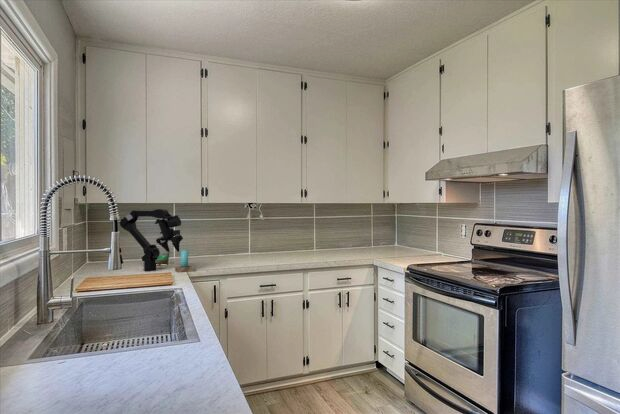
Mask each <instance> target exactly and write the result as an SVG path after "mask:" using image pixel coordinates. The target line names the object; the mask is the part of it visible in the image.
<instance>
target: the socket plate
mask: <svg viewBox="0 0 620 414" xmlns="http://www.w3.org/2000/svg"><path fill="white" fill-rule="evenodd" d="M174 271H175V272H178V273H191V272H194V271H195V267H194V266H192V265H188V267H186V268H181V265H178V266H176V265H175V266H174Z"/></svg>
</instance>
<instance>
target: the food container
mask: <svg viewBox="0 0 620 414" xmlns="http://www.w3.org/2000/svg"><path fill="white" fill-rule="evenodd" d="M159 251H160V254H159V256H158V258H157V260H156V264H167V263H168V264H169V259H170V254H171V250H170V249H169V252H167V251H166V250H159ZM168 264H167V265H168Z"/></svg>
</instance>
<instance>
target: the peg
mask: <svg viewBox="0 0 620 414" xmlns="http://www.w3.org/2000/svg"><path fill="white" fill-rule="evenodd" d="M180 266H181V268H186V267H188V266H189V249H180Z"/></svg>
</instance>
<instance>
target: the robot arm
mask: <svg viewBox="0 0 620 414" xmlns="http://www.w3.org/2000/svg"><path fill="white" fill-rule="evenodd" d="M139 217H152V218H155V219H156V220H155V222H154V225H158V226H159V229H160V231H159V234H160V235H162V236H159V237H157V238H156V240H155V242H156V244H158V245H159V246H160V247H162V248H163V249H164V251H167V252H169V250H170V247H169V244H168V243H169V241H170V242H171V245H172V246H173V247H174V249H175V251H176V252H178V253H180V243H181V242H182V240H183V239H184V238H183V235H181V230H180V229H175V230H174V228H175V227H180V226H181V225H182V220H181V218H180V217H179V215H178V214H177V215H173V216H172V215H171V214H170V213H169V211H168V210H167V209H164V208H158V209H157V208H156V209H154V210H153V209H152V210H131V211H130V212H129V214H127V215H125V216H124V217H123V218H121V219H120V221H119V227H121V228H122V229H124V230H125V231H126V232H128V233H130V235H131V236H132V237H133V239H135V241H136V242H137V243H138V244H139V246H140V247H141V248H142V249H143V254H144V255H143V256H141V260H142V262H143V269H142V271H144V272H152V271H153V272H155V271H157V265H156V260H157V258H158V256H159V254H160V251H161V250H160V248H159V247H158V246H157V245H156V244H150V242H149V241H148V240H147V238H145V236H144V235H143V234H142V233H141V231H139V229H138V227H137V224H136V222H137V221H138V219H139Z"/></svg>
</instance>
